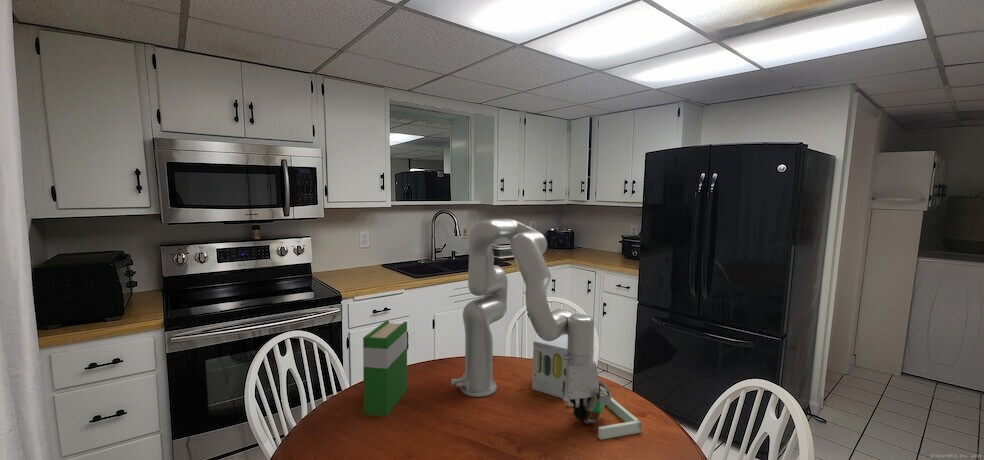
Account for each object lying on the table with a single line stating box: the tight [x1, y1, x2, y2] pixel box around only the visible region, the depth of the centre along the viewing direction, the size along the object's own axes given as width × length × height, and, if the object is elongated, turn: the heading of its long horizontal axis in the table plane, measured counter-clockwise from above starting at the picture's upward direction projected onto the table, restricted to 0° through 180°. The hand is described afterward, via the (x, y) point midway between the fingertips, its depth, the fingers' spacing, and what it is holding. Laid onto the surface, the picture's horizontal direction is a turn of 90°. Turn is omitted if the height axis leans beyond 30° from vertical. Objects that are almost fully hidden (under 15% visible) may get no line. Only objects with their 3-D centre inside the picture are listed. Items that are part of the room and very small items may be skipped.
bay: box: [567, 397, 643, 440], centre depth 121 cm, size 13×19×3 cm
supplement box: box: [532, 334, 568, 399], centre depth 140 cm, size 13×13×18 cm
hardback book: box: [362, 320, 408, 417], centre depth 128 cm, size 18×7×24 cm, turn 173°
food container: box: [583, 379, 612, 425], centre depth 120 cm, size 12×6×10 cm, turn 8°
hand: (579, 417), depth 118 cm, fingers closed
